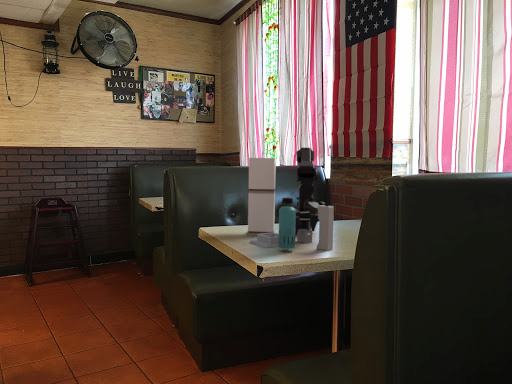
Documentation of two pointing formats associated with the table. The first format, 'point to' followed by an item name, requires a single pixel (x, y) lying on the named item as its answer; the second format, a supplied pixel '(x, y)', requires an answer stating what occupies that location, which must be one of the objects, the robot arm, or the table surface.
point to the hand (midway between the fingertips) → (304, 232)
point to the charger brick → (304, 236)
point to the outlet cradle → (266, 240)
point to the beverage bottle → (287, 225)
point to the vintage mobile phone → (325, 226)
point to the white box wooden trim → (261, 195)
